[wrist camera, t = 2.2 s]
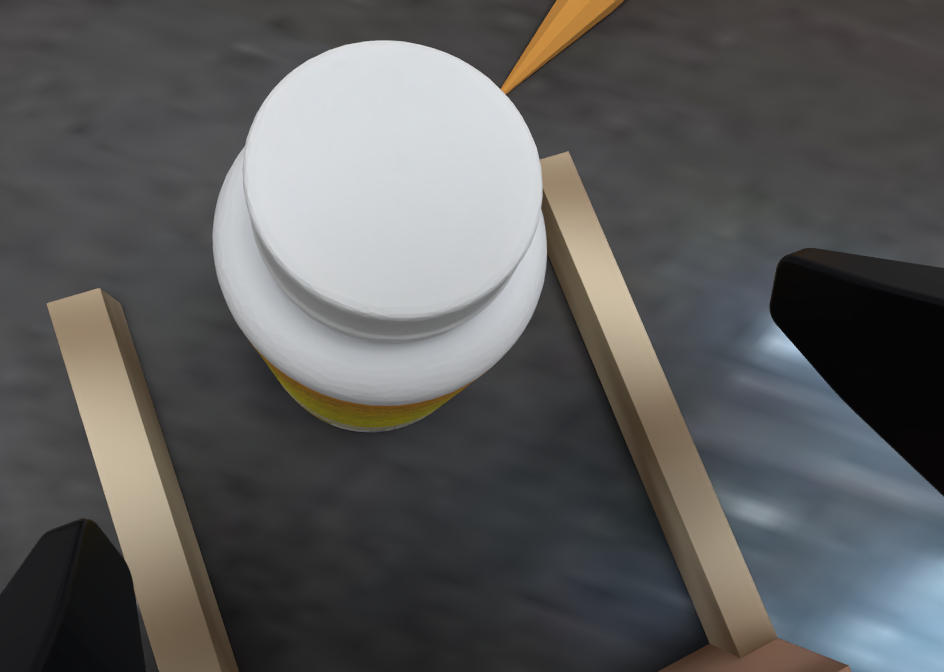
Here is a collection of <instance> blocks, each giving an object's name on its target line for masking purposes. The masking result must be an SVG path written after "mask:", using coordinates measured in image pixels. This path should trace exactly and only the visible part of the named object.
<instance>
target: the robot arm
mask: <svg viewBox="0 0 944 672" xmlns="http://www.w3.org/2000/svg"><path fill="white" fill-rule="evenodd" d="M769 308H770V314H771V317H772V319H773V320H774V322H775V323H776V325H777V326H778V327H779V328H780V329H781V330H782V332H783V333H784V334H785V335H786V336H787V337H788V338H789V340H790V341H791V342H792V343H793V344H794V345H795V346H796V348H797V349H798V350H799V351H800V352H801V353H802V355H803V356H804V357H805V358H806V359H807V360H808V361H809V363H810V364H811V365H812V366H813V367H814V368H815V369H816V371H817V372H818V373H819V374H820V375H821V376H822V377H823V379H824V380H825V381H826V382H827V383H828V384H829V385H830V387H831V388H832V389H833V390H834V391H835V392H836V393H837V394H838V395H839V397H840V398H841V399H842V400H843V401H844V402H845V403H846V404H847V405H848V406H849V407H850V408H851V409H852V410H853V411H854V412H855V413H856V414H857V415H858V416H859V417H860V418H861V419H863V420H864V421H865V422H866V423H867V424H868V425H869V426H870V427H871V428H872V429H873V430H874V431H875V432H876V433H877V434H878V435H879V436H880V437H881V438H883V439H884V440H885V441H886V442H887V443H888V444H889V445H890V446H891V447H892V448H893V449H894V450H895V451H896V452H897V453H898V454H899V455H900V456H902V457H903V458H904V459H905V460H906V461H907V462H908V463H909V464H910V465H911V466H912V467H913V468H914V469H915V470H916V471H917V472H918V473H919V474H920V475H922V476H923V477H924V478H925V479H926V480H927V481H928V482H929V483H930V484H931V485H932V486H933V487H934V488H935V489H936V490H937V491H938V492H939V493H940V494H942V495H943V496H944V268H939V267H932V266H926V265H919V264H913V263H906V262H900V261H894V260H887V259H881V258H874V257H868V256H861V255H855V254H848V253H842V252H835V251H829V250H822V249H816V248H806V249H802V250H799V251H797V252H794V253H791V254H789V255H786V256H784V257H783V258H782V259H781V260H780V261H779V263H778V265H777V268H776V273H775V278H774V283H773V289H772V294H771V299H770V306H769ZM0 672H146V669H145V662H144V655H143V648H142V641H141V634H140V627H139V619H138V612H137V605H136V598H135V591H134V584H133V579H132V575H131V572H130V569H129V567H128V565H127V563H126V561H125V560H124V558H123V557H122V556H121V555H120V553H119V552H118V551H117V549H116V548H115V547H114V545H113V544H112V543H111V542H110V540H109V539H108V538H107V536H106V535H105V534H104V532H103V531H102V530H101V529H100V527H99V526H98V525H97V524H96V523H95V522H94V521H92V520H91V519H87V518H82V519H79V520H76V521H73V522H71V523H68V524H65V525H63V526H60V527H57V528H55V529H52V530H50V531H48V532H46V533H45V534H44V535H43V536H42V537H41V538H40V539H39V541H38V542H37V544H36V545H35V546H34V548H33V549H32V551H31V552H30V553H29V555H28V556H27V558H26V559H25V561H24V562H23V563H22V565H21V566H20V568H19V569H18V570H17V572H16V573H15V575H14V576H13V578H12V579H11V580H10V582H9V583H8V585H7V586H6V587H5V589H4V590H3V592H2V593H1V595H0Z"/></svg>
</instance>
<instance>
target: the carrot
mask: <svg viewBox="0 0 944 672" xmlns="http://www.w3.org/2000/svg"><path fill="white" fill-rule="evenodd" d="M623 1H625V0H557V1H556V2H555V4H554V5H553V7H552V8H551V10H550V12H549V13H548V15H547V16H546V18H545V19H544V21H543V23H542V24H541V26H540V27H539V29H538V31H537V32H536V34H535V35H534V37H533V38H532V40H531V42H530V43H529V45H528V46H527V48H526V50H525V51H524V53H523V54H522V56H521V57H520V59H519V61H518V62H517V64H516V65H515V67H514V68H513V70H512V72H511V73H510V75H509V76H508V78H507V80H506V81H505V83H504V84H503V86H502V87H501V89H500V90H501V91H502V92H503V93H504V94H505V95H506V94H507V93H508V92H510V91H511V90H512V89H514V88H515V87H516V86H517V85H519V84H520V83H521V82H523V81H524V80H525V79H526V78H528V77H529V76H530V75H531V74H533V73H534V72H535V71H537V70H538V69H539V68H540V67H542V66H543V65H544V64H546V63H547V62H548V61H549V60H551V59H552V58H553V57H555V56H556V55H557V54H558V53H560V52H561V51H562V50H563V49H565V48H566V47H567V46H569V45H570V44H571V43H572V42H574V41H575V40H576V39H578V38H579V37H580V36H581V35H583V34H584V33H585V32H587V31H588V30H589V29H590V28H592V27H593V26H594V25H595V24H597V23H598V22H599V21H601V20H602V19H603V18H604V17H606V16H607V15H608V14H610V13H611V12H612V11H613V10H614V9H615V8H617V7H618V6H619V5H620V4H621V3H622V2H623Z"/></svg>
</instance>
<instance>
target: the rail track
mask: <svg viewBox="0 0 944 672" xmlns="http://www.w3.org/2000/svg"><path fill="white" fill-rule="evenodd" d="M539 161H540V165H541V172H542V183H543V186H542V205H541V210H542V214H543V218H544V224H545V230H546V241H547V254H548V256H549V259H550V261H551V263H552V266H553V268H554V271H555V273H556V275H557V278H558V280H559V283H560V285H561V287H562V290H563V292H564V295H565V297H566V299H567V302H568V304H569V307H570V309H571V311H572V314H573V316H574V319H575V321H576V324H577V326H578V328H579V331H580V333H581V336H582V338H583V340H584V343H585V345H586V348H587V350H588V352H589V355H590V357H591V360H592V362H593V364H594V367H595V369H596V372H597V374H598V376H599V379H600V381H601V384H602V386H603V388H604V391H605V393H606V396H607V398H608V400H609V403H610V405H611V408H612V410H613V412H614V415H615V417H616V420H617V422H618V424H619V427H620V429H621V432H622V434H623V436H624V439H625V441H626V444H627V446H628V448H629V451H630V453H631V456H632V458H633V460H634V463H635V465H636V468H637V470H638V472H639V475H640V477H641V480H642V482H643V485H644V487H645V489H646V492H647V494H648V497H649V499H650V501H651V504H652V506H653V509H654V511H655V513H656V516H657V518H658V521H659V523H660V525H661V528H662V530H663V533H664V535H665V537H666V540H667V542H668V545H669V547H670V549H671V552H672V554H673V557H674V559H675V561H676V564H677V566H678V569H679V571H680V573H681V576H682V578H683V581H684V583H685V585H686V588H687V590H688V593H689V595H690V597H691V600H692V602H693V605H694V607H695V609H696V612H697V614H698V617H699V619H700V621H701V624H702V626H703V629H704V631H705V634H706V636H707V638H708V641H709V643H710V644H708V645H706V646H704V647H702V648H700V649H699V650H697V651H695V652H693V653H691V654H689V655H687V656H686V657H684V658H682V659H680V660H678V661H676V662H674V663H673V664H671V665H669V666H667V667H665V668H663V669H661V670H660V671H658V672H851V670H850V668H849V666H848V665H846V664H843V663H841V662H838V661H835V660H833V659H830V658H828V657H825V656H823V655H820V654H817V653H815V652H812V651H810V650H807V649H805V648H802V647H799V646H797V645H794V644H792V643H789V642H787V641H784V640H781V639H779V638H777V635H776V633H775V631H774V628H773V626H772V624H771V621H770V619H769V617H768V614H767V612H766V610H765V607H764V605H763V603H762V600H761V598H760V596H759V593H758V591H757V589H756V586H755V584H754V582H753V579H752V577H751V575H750V572H749V570H748V568H747V565H746V563H745V561H744V558H743V556H742V554H741V552H740V549H739V547H738V545H737V542H736V540H735V538H734V535H733V533H732V531H731V528H730V526H729V524H728V521H727V519H726V517H725V514H724V512H723V510H722V507H721V505H720V503H719V500H718V498H717V496H716V493H715V491H714V489H713V486H712V484H711V482H710V479H709V477H708V475H707V472H706V470H705V468H704V465H703V463H702V461H701V459H700V456H699V454H698V452H697V449H696V447H695V445H694V442H693V440H692V438H691V435H690V433H689V431H688V428H687V426H686V424H685V421H684V419H683V417H682V414H681V412H680V410H679V407H678V405H677V403H676V400H675V398H674V396H673V393H672V391H671V389H670V386H669V384H668V382H667V379H666V377H665V375H664V372H663V370H662V368H661V366H660V363H659V361H658V359H657V356H656V354H655V352H654V349H653V347H652V345H651V342H650V340H649V338H648V335H647V333H646V331H645V328H644V326H643V324H642V321H641V319H640V317H639V314H638V312H637V310H636V307H635V305H634V303H633V300H632V298H631V296H630V293H629V291H628V289H627V286H626V284H625V282H624V279H623V277H622V275H621V273H620V270H619V268H618V266H617V263H616V261H615V259H614V256H613V254H612V252H611V249H610V247H609V245H608V242H607V240H606V238H605V235H604V233H603V231H602V228H601V226H600V224H599V221H598V219H597V217H596V214H595V212H594V210H593V207H592V205H591V203H590V200H589V198H588V196H587V193H586V191H585V189H584V186H583V184H582V182H581V180H580V177H579V175H578V173H577V170H576V168H575V166H574V163H573V161H572V159H571V156H570V154H569V152H565V153H561V154H558V155H554V156H551V157H548V158H544V159H541V160H539ZM47 306H48V310H49V313H50V316H51V319H52V323H53V326H54V329H55V333H56V336H57V339H58V342H59V346H60V349H61V352H62V355H63V359H64V362H65V365H66V369H67V372H68V375H69V378H70V382H71V385H72V388H73V392H74V395H75V398H76V401H77V405H78V408H79V411H80V414H81V418H82V421H83V424H84V428H85V431H86V434H87V437H88V441H89V444H90V447H91V450H92V454H93V457H94V460H95V464H96V467H97V470H98V473H99V477H100V480H101V483H102V487H103V490H104V493H105V496H106V500H107V503H108V506H109V509H110V513H111V516H112V519H113V523H114V526H115V529H116V532H117V536H118V539H119V542H120V545H121V549H122V552H123V555H124V559H125V561H126V563H127V565H128V567H129V569H130V572H131V575H132V579H133V584H134V591H135V595H136V598H137V601H138V604H139V608H140V611H141V614H142V618H143V621H144V624H145V627H146V631H147V634H148V637H149V640H150V644H151V647H152V650H153V654H154V657H155V660H156V663H157V667H158V670H159V672H239V670H238V667H237V664H236V661H235V658H234V655H233V652H232V648H231V645H230V642H229V639H228V636H227V633H226V630H225V627H224V623H223V620H222V617H221V614H220V611H219V608H218V605H217V602H216V599H215V595H214V592H213V589H212V586H211V583H210V580H209V577H208V574H207V571H206V567H205V564H204V561H203V558H202V555H201V552H200V549H199V546H198V543H197V539H196V536H195V533H194V530H193V527H192V524H191V521H190V518H189V514H188V511H187V508H186V505H185V502H184V499H183V496H182V493H181V490H180V486H179V483H178V480H177V477H176V474H175V471H174V468H173V465H172V462H171V458H170V455H169V452H168V449H167V446H166V443H165V440H164V437H163V433H162V430H161V427H160V424H159V421H158V418H157V415H156V412H155V409H154V405H153V402H152V399H151V396H150V393H149V390H148V387H147V384H146V381H145V377H144V374H143V371H142V368H141V365H140V362H139V359H138V356H137V352H136V349H135V346H134V343H133V340H132V337H131V334H130V331H129V328H128V324H127V321H126V318H125V315H124V312H123V309H122V306H121V303H119V302H118V301H117V300H115V299H114V298H113V297H111V296H110V295H109V294H107V293H106V292H104V291H103V290H102V289H100V288H98V289H94V290H91V291H88V292H84V293H81V294H77V295H74V296H70V297H67V298H64V299H60V300H57V301H53V302H50V303H47Z"/></svg>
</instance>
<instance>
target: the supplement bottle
mask: <svg viewBox="0 0 944 672" xmlns="http://www.w3.org/2000/svg"><path fill="white" fill-rule="evenodd" d="M542 186H543V183H542V172H541V165H540V161H539V156H538V152H537V148H536V145H535V143H534V140H533V138H532V136H531V133H530V131H529V129H528V127H527V125H526V123H525V121H524V119H523V118H522V116H521V114H520V113H519V112H518V110H517V109H516V107H515V106H514V104H513V103H512V102H511V101H510V99H509V98H508V97H507V96H506V95H505V94H504V93H503V92H502V91H501V90H500V89H499V88H498V87H497V86H496V85H495V84H494V83H493V82H492V81H491V80H490V79H489V78H488V77H486V76H485V75H484V74H482V73H481V72H479V71H478V70H477V69H475V68H474V67H472V66H470V65H469V64H467V63H465V62H464V61H462V60H460V59H458V58H456V57H454V56H452V55H450V54H448V53H445V52H442V51H439V50H437V49H434V48H430V47H426V46H423V45H419V44H413V43H408V42H402V41H366V42H360V43H354V44H349V45H344V46H341V47H338V48H335V49H332V50H329V51H326V52H324V53H322V54H320V55H318V56H316V57H314V58H312V59H309V60H308V61H306V62H305V63H303V64H302V65H300V66H299V67H297V68H296V69H294V70H293V71H292V72H291V73H289V74H288V75H287V76H286V77H285V78H284V79H283V80H282V81H281V82H280V83H279V84H278V85H277V86H276V87H275V88H274V89H273V90H272V91H271V93H270V94H269V95H268V97H267V98H266V99H265V101H264V103H263V104H262V106H261V107H260V109H259V111H258V112H257V114H256V116H255V119H254V121H253V124H252V126H251V128H250V131H249V134H248V137H247V140H246V145H245V147H244V148H243V149H242V151H241V152H240V154H239V155H238V157H237V158H236V160H235V161H234V163H233V165H232V167H231V169H230V170H229V172H228V174H227V176H226V178H225V181H224V183H223V185H222V188H221V191H220V194H219V197H218V201H217V206H216V210H215V216H214V224H213V255H214V262H215V267H216V273H217V277H218V281H219V284H220V287H221V290H222V292H223V295H224V298H225V300H226V303H227V305H228V307H229V309H230V311H231V313H232V315H233V317H234V319H235V321H236V323H237V324H238V326H239V327H240V329H241V330H242V332H243V333H244V334H245V336H246V337H247V339H248V340H249V341H250V343H251V344H252V346H253V347H254V348H255V349H256V351H257V352H258V353H259V354H260V356H261V357H262V358H263V360H264V361H265V362H266V364H267V365H268V366H269V368H270V369H271V371H272V372H273V373H274V375H275V376H276V378H277V379H278V380H279V382H280V383H281V385H282V386H283V387H284V389H285V390H286V391H287V392H288V393H289V394H290V396H291V397H292V398H293V399H294V400H295V401H296V402H297V403H298V404H299V405H300V406H302V407H303V408H304V409H305V410H307V411H308V412H309V413H310V414H312V415H313V416H315V417H316V418H318V419H320V420H321V421H323V422H326V423H328V424H330V425H333V426H336V427H339V428H342V429H346V430H351V431H357V432H381V431H389V430H394V429H398V428H402V427H405V426H408V425H410V424H413V423H415V422H417V421H419V420H421V419H423V418H424V417H426V416H428V415H429V414H431V413H432V412H433V411H435V410H436V409H438V408H439V407H440V406H441V405H443V404H444V403H445V402H447V401H448V400H450V399H451V398H452V397H454V396H455V395H456V394H458V393H459V392H460V391H462V390H463V389H464V388H466V387H467V386H468V385H469V384H471V383H472V382H473V381H475V380H476V379H477V378H479V377H480V376H481V375H483V374H484V373H485V372H487V371H488V370H489V369H490V368H491V367H492V366H494V365H495V364H496V363H497V362H498V361H499V360H500V359H501V358H502V357H503V356H504V355H505V354H506V353H507V351H508V350H509V349H510V348H511V347H512V346H513V345H514V343H515V342H516V341H517V340H518V338H519V337H520V335H521V334H522V333H523V331H524V329H525V328H526V326H527V324H528V322H529V321H530V319H531V317H532V315H533V312H534V310H535V308H536V306H537V303H538V300H539V297H540V294H541V290H542V287H543V283H544V277H545V271H546V261H547V241H546V230H545V224H544V218H543V214H542V210H541V205H542Z"/></svg>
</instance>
